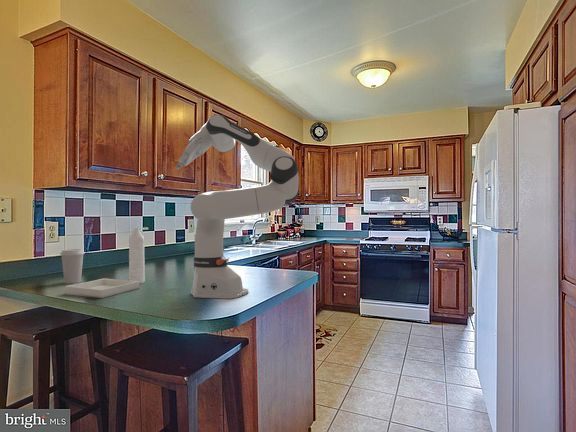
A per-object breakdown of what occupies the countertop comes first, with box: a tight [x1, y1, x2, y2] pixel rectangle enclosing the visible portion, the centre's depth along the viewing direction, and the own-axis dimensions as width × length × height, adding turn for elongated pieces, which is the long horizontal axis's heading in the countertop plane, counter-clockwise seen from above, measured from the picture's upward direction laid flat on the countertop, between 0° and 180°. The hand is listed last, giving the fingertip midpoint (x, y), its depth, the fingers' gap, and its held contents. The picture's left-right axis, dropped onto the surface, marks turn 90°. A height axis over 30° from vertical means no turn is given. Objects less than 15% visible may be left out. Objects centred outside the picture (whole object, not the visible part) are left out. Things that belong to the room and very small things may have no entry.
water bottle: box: [128, 226, 149, 285], centre depth 158 cm, size 9×6×25 cm
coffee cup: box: [59, 248, 86, 285], centre depth 160 cm, size 10×10×15 cm
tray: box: [64, 278, 140, 299], centre depth 141 cm, size 20×18×3 cm
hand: (178, 165), depth 156 cm, fingers open, 8 cm apart
